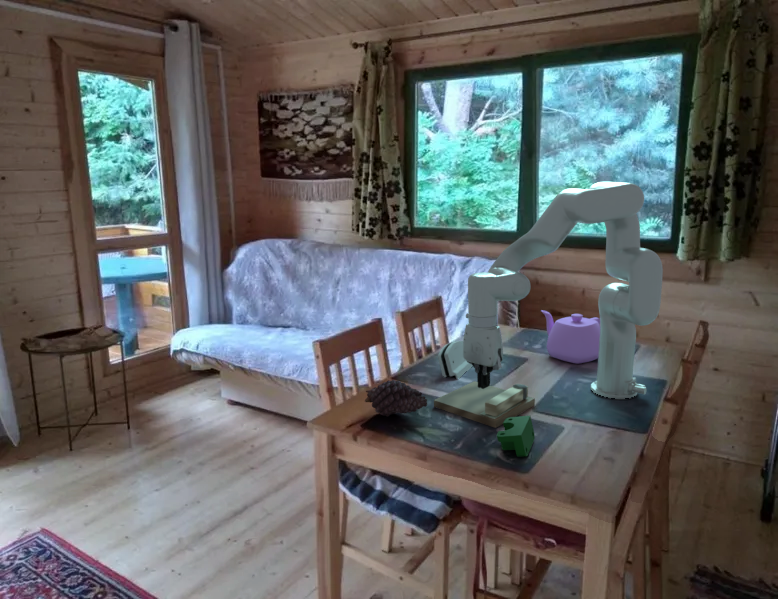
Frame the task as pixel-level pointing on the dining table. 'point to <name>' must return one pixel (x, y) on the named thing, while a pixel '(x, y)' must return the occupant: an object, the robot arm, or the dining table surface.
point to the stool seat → (479, 404)
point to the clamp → (517, 435)
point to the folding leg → (506, 399)
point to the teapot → (573, 338)
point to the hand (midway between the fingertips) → (483, 386)
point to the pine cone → (395, 398)
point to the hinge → (453, 360)
